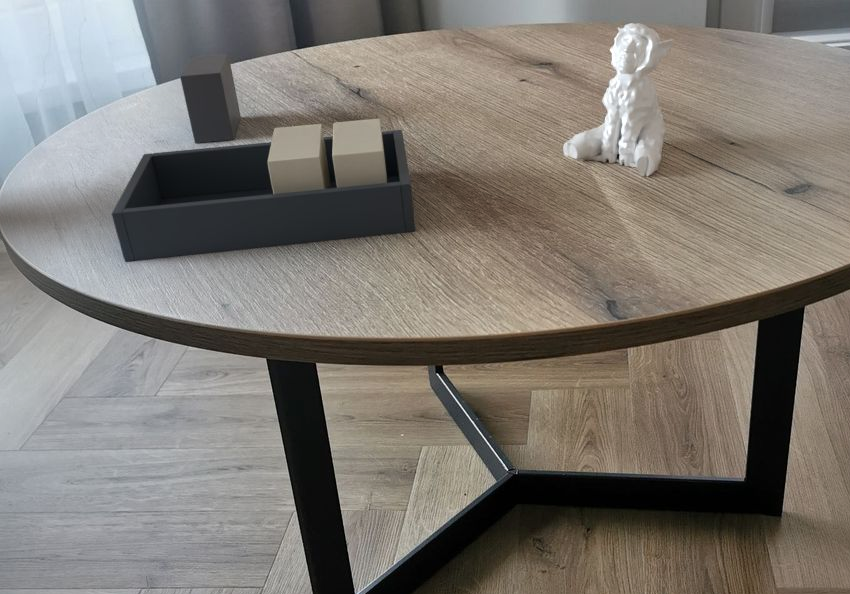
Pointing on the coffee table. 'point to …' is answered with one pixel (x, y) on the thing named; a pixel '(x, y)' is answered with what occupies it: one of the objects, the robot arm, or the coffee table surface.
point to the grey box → (211, 98)
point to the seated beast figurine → (628, 106)
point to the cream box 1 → (298, 159)
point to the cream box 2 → (358, 153)
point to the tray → (251, 203)
